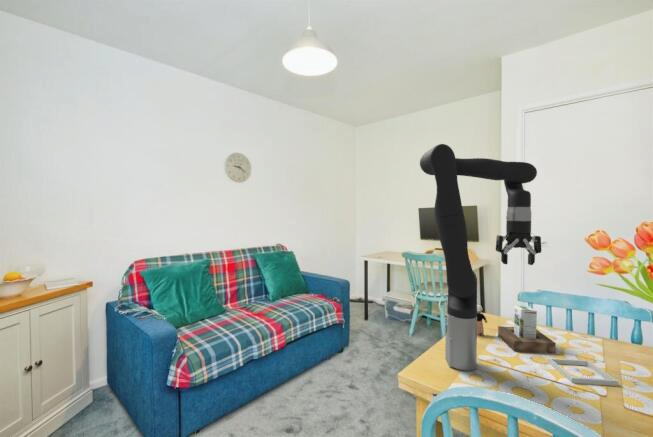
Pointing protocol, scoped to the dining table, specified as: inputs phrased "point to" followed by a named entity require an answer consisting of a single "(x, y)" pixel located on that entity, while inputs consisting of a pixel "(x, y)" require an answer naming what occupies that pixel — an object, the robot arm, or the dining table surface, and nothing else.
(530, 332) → the syrup box
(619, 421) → the dining table surface
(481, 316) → the grandmother figurine
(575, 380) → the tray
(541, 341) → the socket block
